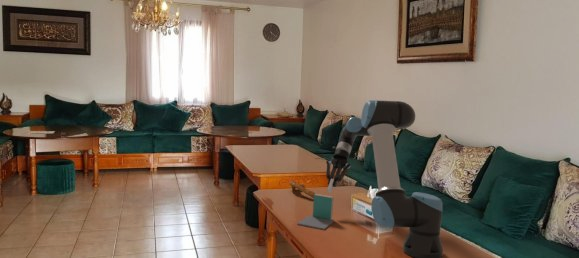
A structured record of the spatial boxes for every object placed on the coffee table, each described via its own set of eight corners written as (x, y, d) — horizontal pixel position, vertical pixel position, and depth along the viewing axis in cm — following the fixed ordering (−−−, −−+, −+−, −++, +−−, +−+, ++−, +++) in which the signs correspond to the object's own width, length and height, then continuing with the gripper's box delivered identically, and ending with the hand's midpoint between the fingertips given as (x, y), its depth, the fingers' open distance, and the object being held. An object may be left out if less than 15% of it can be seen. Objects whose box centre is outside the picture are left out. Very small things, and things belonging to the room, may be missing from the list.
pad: (334, 221, 217) (334, 220, 217) (324, 229, 206) (324, 228, 206) (308, 216, 223) (308, 215, 223) (297, 224, 211) (297, 223, 211)
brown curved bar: (331, 204, 249) (324, 188, 245) (318, 212, 246) (311, 196, 243) (302, 186, 278) (296, 172, 274) (291, 194, 275) (284, 179, 272)
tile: (332, 219, 221) (333, 196, 220) (330, 220, 219) (332, 197, 217) (314, 216, 225) (315, 193, 223) (312, 217, 222) (313, 194, 221)
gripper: (355, 158, 241) (343, 197, 228) (331, 155, 246) (318, 193, 233) (353, 149, 235) (340, 189, 222) (329, 146, 241) (315, 185, 228)
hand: (329, 191), depth 228 cm, fingers closed
